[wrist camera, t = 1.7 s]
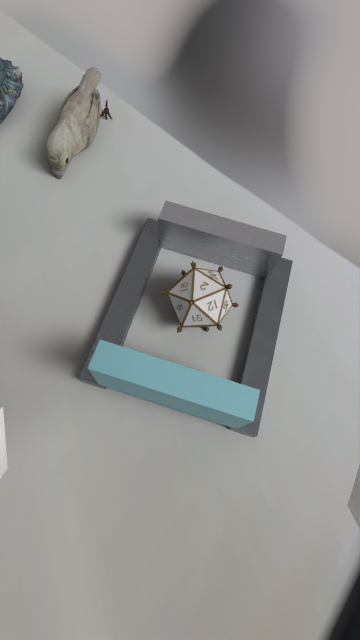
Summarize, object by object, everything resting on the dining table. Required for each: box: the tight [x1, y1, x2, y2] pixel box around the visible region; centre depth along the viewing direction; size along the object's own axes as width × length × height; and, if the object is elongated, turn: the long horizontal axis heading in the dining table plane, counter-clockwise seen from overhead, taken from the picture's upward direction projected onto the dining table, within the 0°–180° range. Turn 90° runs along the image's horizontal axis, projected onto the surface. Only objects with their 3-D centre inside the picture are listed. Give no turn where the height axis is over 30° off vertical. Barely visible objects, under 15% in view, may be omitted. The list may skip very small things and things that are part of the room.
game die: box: [160, 261, 239, 333], centre depth 41 cm, size 9×8×10 cm
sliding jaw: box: [88, 340, 260, 429], centre depth 35 cm, size 16×3×7 cm, turn 73°
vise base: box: [79, 201, 292, 437], centre depth 41 cm, size 21×24×6 cm
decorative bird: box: [46, 67, 112, 179], centre depth 51 cm, size 5×16×7 cm, turn 162°
